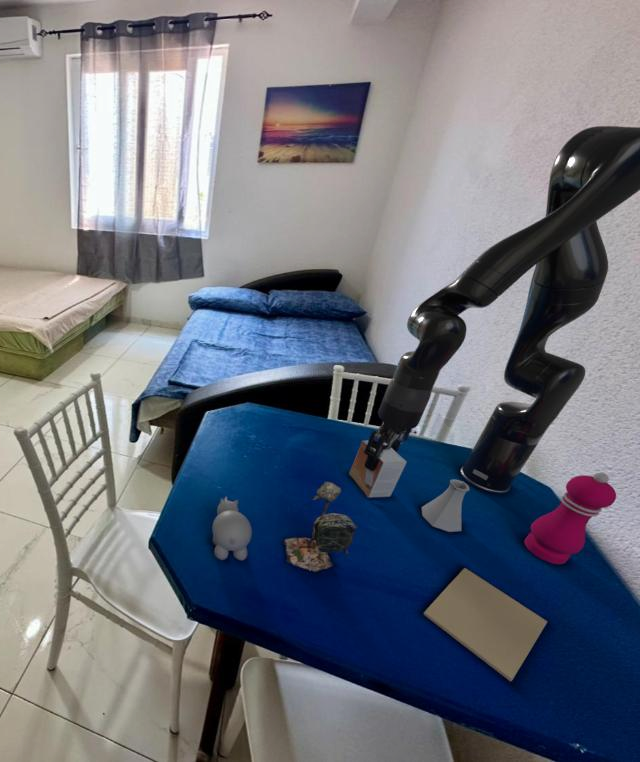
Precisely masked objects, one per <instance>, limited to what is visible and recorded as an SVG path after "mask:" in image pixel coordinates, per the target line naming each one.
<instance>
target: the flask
mask: <svg viewBox="0 0 640 762" xmlns="http://www.w3.org/2000/svg"><path fill="white" fill-rule="evenodd" d="M469 491H470V486H469V485H468V484H467V482H465V481H462V480H459V479H456V478H455V479H450V480H449V486H448V487H447V488H446V490H445V491H443V493H441V494H440V495H438V496H437V497H436V498H434V499H433V500H431V501H429V502H427V503H425V504H424V505H423V506H421V515H422V517H423V518H424V519H425V521H426V522H428V523H429V524H430V525H431V526H432V527H434V528H437V529H440V530H442V531H444V532H445V531H446V532H447V533H453V532H454V533H455V532H462V509H463V508H462V507H463V506H462V505H463V502H464V501H463V500H464V497H465V494H466V493H468V492H469Z"/></svg>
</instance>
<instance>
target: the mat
mask: <svg viewBox="0 0 640 762" xmlns="http://www.w3.org/2000/svg"><path fill="white" fill-rule="evenodd" d="M423 616H424V617H426V618H427V619H429V620H430V621H431V622H433V623H434V624H435V625H437V627H439V628H440V629H441V630H443V631H444V632H445V633H447V634H448V635H450V636H451V637H452V638H453V639H454V640H456V641H457V642H458V643H460V644H461V645H462V646H464V647H465V648H466V649H467V650H469V651H470V652H471V653H473V654H474V655H475V656H477V657H478V658H479V659H481V661H483V662H484V663H486V664H487V665H488V666H489V667H491V668H492V669H494V670H495V671H496V672H497V673H499V674H500V675H501V676H502V677H504V678H505V679H506V680H508V681H509V682H512V681H513V680H514V679H515V677H516V675H517V673H518V671H519V670H520V669H521V667H522V665H523V664H524V662H525V660H526V658H527V656H528V655H529V653H530V652H531V650H532V648H533V647H534V645H535V643H536V642H537V640H538V638H539V637H540V635H541V633H542V632H543V630H544V628H545V627H546V625H547V624H548V621H547V620H546V619H544V618H543V617H541V616H540V615H539V614H537V613H536V612H533V611H532V610H531V609H529V608H527V607H526V606H524V605H523V604H521V603H520V602H519V601H516V600H515V599H514V598H512V597H511V596H509V595H507V594H506V593H504V592H503V591H502V590H500V589H498V588H497V587H495V586H494V585H492V584H490V583H489V582H488V581H486V580H485V579H483V578H481V577H480V576H478V575H477V574H475V573H473V572H472V571H470V570H469V569H467V568H466V567H464V568H463V569H462V570H461V571H460V572H459V573H458V574H457V575H456V576H455V577H454V579H453V580H452V581H451V582H450V583H449V584H448V585H447V586H446V588H445V589H444V590H443V591H442V592H441V593H440V594H439V595H438V596H437V597H436V599H434V600H433V602H432V603H431V604H430V605H429V606H428V607H427V608H426V610H425V611H423Z"/></svg>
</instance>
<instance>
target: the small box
mask: <svg viewBox="0 0 640 762" xmlns="http://www.w3.org/2000/svg"><path fill="white" fill-rule="evenodd" d="M368 441H369V439H368V440H367V439H366V440H362V441H361V443H360V446H359V448H358V451H357V453H356V456H355V458H354V459H353V460H354V461H353V463H352V465H351V468H350V471H349V474H348V475H349V476H350V477H351V479H352V480H353V481H354V482H355V483H356V484H357V485H358V487H359V488H360V489H361V491H362V492H363V493H364V494H365V496H366V497H367V498H389V497H391V496H392V494H393V492H394V490H395V488H396V485H397V483H398V481H399V480H400V477H401V476H402V473H403V471H404V469H405V467H406V465H407V460H405V458H403V457H402V456H401V455H400V454H399V453H398V451H397V452H395V451H394V450H393V449H392V448H390V449H389V450H388V451H385V452H384V453H383V455H382V457H381V458H380V461H379V463H378V465H377V468H376V470H374V471H371V470H369V469H368V468H366V467H365V462H366V460H367V457H368V455H367V454H365V453H364V451H365V449H366V446H367V444H368ZM383 445H387V444H386V443H384V444H383ZM381 449H382V448H381ZM374 450H375V449H374ZM375 451H376V450H375Z"/></svg>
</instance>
